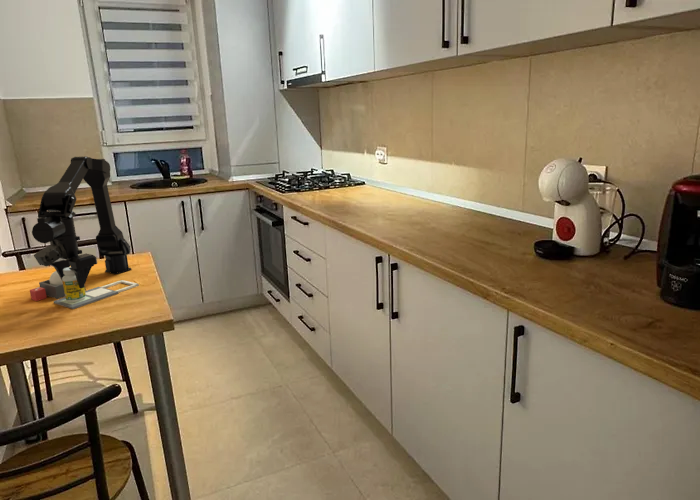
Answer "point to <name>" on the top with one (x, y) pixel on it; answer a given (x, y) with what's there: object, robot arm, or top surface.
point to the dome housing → (47, 291)
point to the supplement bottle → (72, 286)
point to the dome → (55, 279)
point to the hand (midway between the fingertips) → (73, 285)
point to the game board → (96, 294)
